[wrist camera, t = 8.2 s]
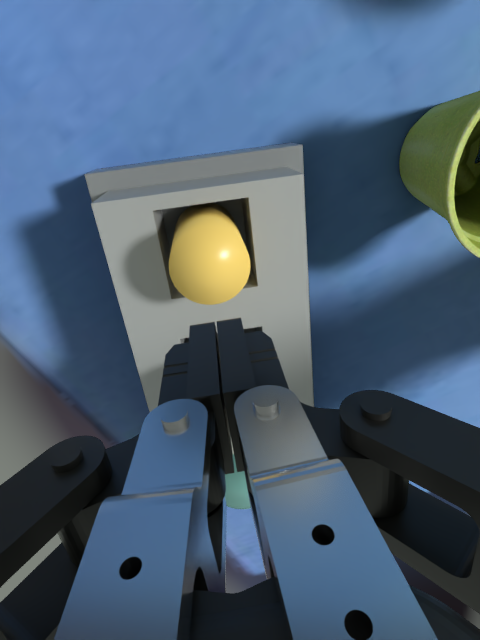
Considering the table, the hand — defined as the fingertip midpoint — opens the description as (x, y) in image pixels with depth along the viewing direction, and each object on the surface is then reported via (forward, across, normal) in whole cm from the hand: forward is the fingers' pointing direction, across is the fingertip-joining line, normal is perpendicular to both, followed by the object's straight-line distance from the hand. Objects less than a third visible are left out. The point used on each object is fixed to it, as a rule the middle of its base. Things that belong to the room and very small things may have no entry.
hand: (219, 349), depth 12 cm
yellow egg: (+13, 0, 0) cm, 13 cm away
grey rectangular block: (+16, 0, +6) cm, 18 cm away
